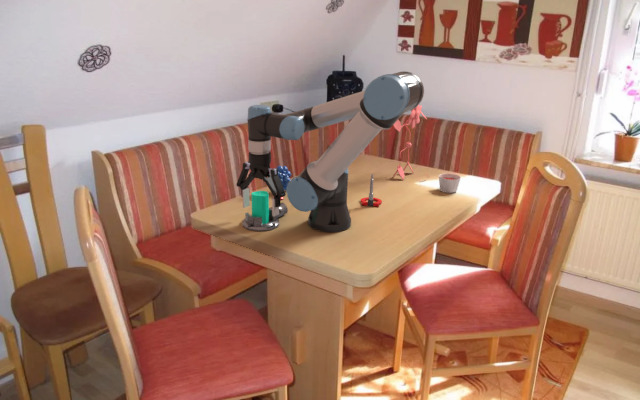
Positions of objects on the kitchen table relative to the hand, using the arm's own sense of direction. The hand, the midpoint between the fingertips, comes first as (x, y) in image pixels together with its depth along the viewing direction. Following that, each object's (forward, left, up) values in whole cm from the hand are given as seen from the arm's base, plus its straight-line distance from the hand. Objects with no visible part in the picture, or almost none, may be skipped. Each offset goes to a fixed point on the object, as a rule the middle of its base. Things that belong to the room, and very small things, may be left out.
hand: (260, 210), depth 190 cm
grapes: (+15, -31, -5) cm, 35 cm away
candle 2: (-37, -78, -5) cm, 86 cm away
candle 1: (0, 0, -4) cm, 4 cm away
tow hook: (-19, -44, -5) cm, 48 cm away
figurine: (-16, -85, -5) cm, 87 cm away
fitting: (0, -3, -5) cm, 6 cm away
